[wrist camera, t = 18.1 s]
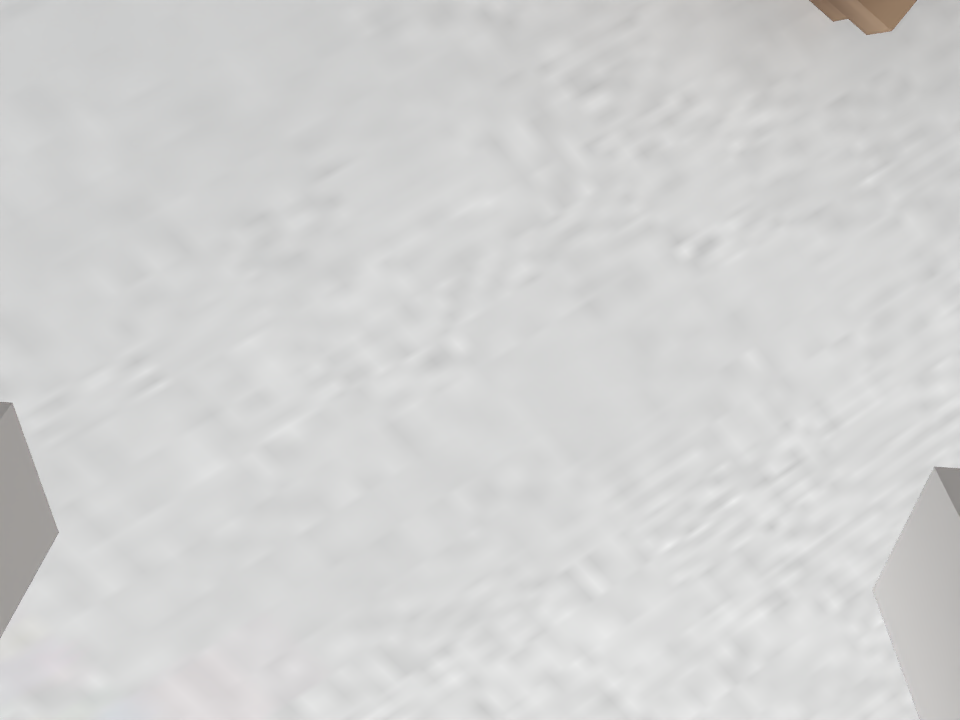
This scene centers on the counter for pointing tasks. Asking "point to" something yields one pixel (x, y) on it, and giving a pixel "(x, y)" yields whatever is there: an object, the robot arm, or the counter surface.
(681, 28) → the counter surface
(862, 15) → the plant stand
